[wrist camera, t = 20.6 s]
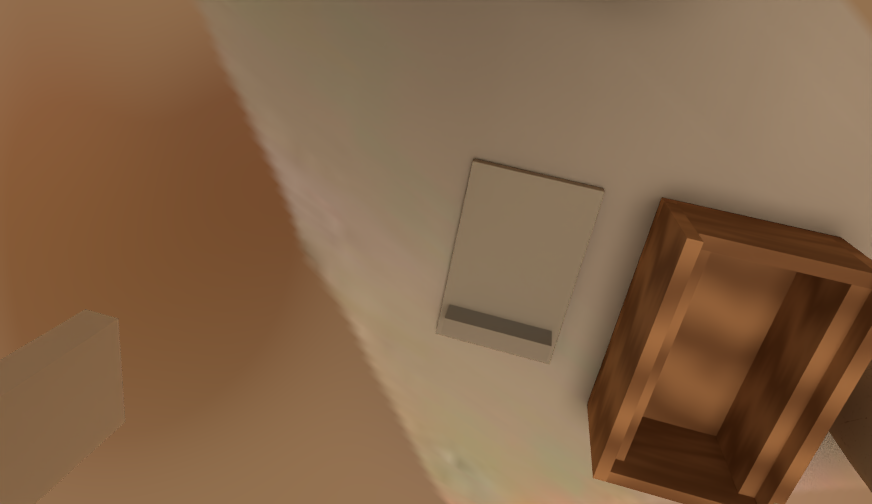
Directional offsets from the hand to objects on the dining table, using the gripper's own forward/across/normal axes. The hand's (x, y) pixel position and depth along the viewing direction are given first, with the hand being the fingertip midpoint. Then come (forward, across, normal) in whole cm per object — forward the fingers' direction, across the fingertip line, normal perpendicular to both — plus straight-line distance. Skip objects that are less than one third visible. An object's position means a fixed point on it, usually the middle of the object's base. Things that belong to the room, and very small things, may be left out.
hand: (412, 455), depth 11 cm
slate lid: (+35, +2, -10) cm, 37 cm away
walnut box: (+35, +18, -12) cm, 41 cm away
